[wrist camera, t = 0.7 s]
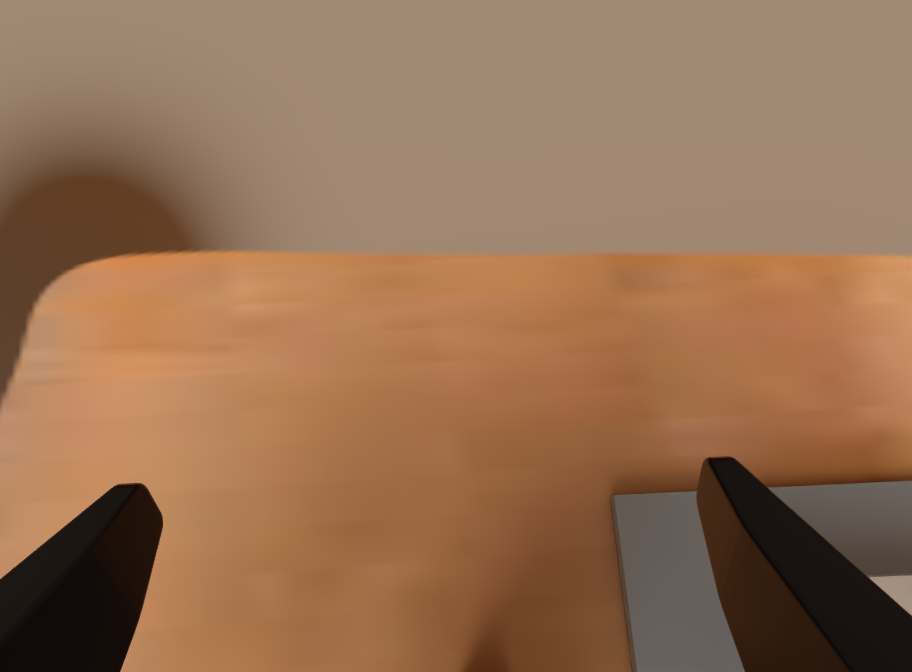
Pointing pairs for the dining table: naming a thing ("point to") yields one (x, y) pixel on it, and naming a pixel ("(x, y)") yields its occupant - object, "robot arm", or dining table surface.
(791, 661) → the robot arm
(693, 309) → the dining table surface
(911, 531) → the slate board
